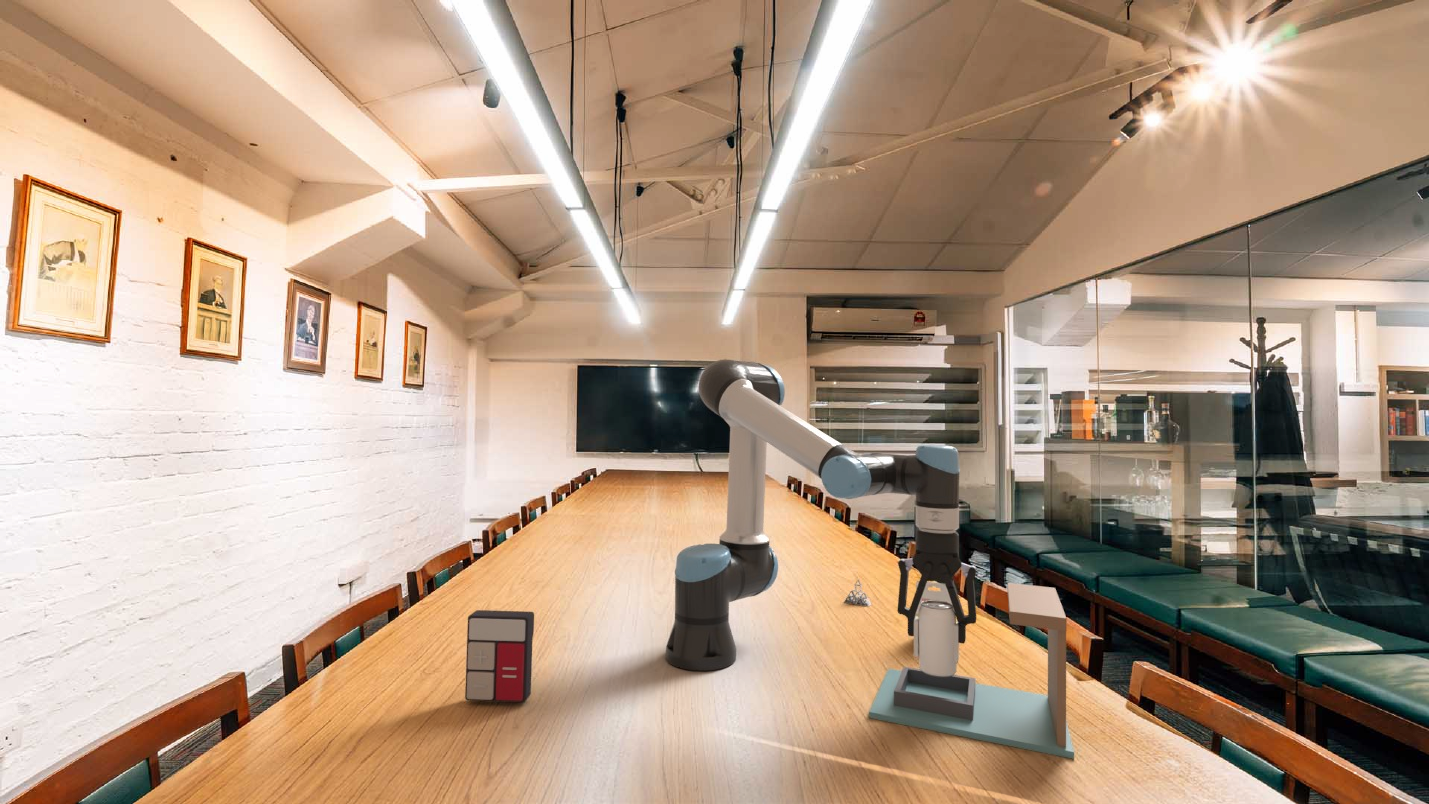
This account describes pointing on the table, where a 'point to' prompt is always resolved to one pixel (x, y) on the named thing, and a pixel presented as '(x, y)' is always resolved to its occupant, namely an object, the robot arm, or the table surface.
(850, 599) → the house of cards
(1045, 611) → the socket stand
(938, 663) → the can
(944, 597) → the ink cartridge box
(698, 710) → the table surface
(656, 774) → the table surface
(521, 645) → the calculator
